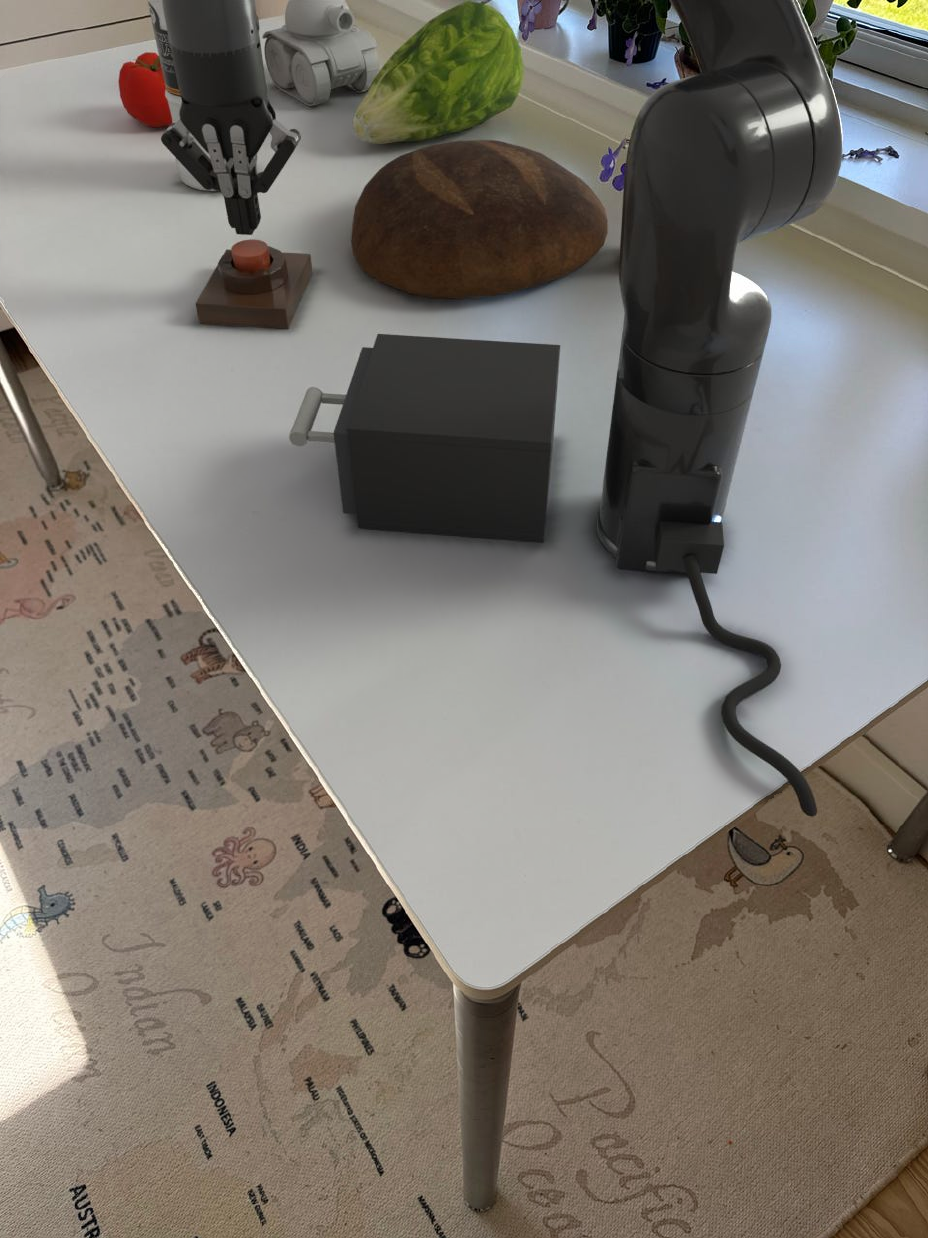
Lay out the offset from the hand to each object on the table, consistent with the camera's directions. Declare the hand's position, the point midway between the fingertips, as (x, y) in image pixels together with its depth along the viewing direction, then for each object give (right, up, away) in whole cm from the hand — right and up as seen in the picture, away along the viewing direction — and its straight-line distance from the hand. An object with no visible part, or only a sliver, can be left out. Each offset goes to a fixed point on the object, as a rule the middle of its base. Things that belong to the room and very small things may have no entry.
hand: (246, 230), depth 97 cm
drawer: (+17, -26, -15) cm, 34 cm away
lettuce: (+17, +25, +33) cm, 45 cm away
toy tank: (+2, +36, +43) cm, 57 cm away
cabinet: (+21, -27, -15) cm, 37 cm away
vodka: (-9, +16, +24) cm, 30 cm away
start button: (0, -2, +3) cm, 3 cm away
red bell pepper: (-19, +28, +36) cm, 50 cm away
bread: (+22, +4, +13) cm, 26 cm away
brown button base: (0, -5, +5) cm, 7 cm away
